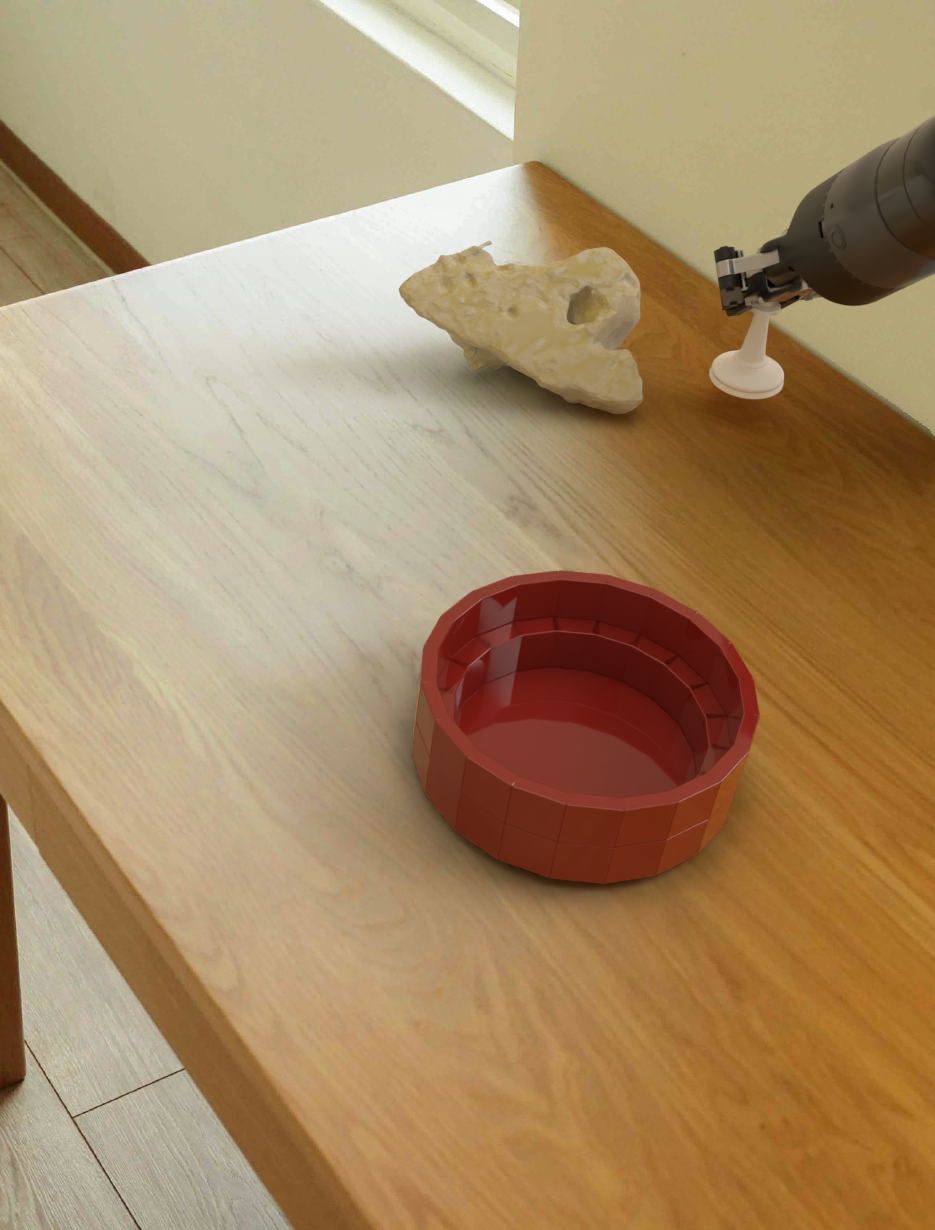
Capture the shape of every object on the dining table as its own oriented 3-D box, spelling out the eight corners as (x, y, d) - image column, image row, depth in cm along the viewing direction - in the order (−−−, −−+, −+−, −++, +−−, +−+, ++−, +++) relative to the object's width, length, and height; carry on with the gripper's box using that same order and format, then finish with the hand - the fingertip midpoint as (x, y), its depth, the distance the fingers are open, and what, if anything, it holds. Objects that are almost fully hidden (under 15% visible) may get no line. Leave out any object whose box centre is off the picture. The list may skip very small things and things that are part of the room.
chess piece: (759, 408, 101) (795, 273, 94) (694, 379, 103) (725, 245, 96) (796, 378, 104) (834, 245, 97) (733, 350, 106) (765, 218, 99)
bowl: (658, 635, 88) (679, 555, 84) (785, 862, 76) (817, 782, 72) (377, 671, 84) (385, 589, 80) (463, 914, 73) (477, 832, 69)
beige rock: (666, 394, 109) (566, 208, 109) (701, 372, 102) (594, 173, 102) (480, 493, 108) (379, 304, 108) (503, 478, 100) (394, 275, 100)
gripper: (991, 143, 86) (834, 234, 103) (763, 162, 83) (641, 252, 100) (1012, 275, 86) (851, 344, 103) (784, 298, 83) (658, 365, 100)
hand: (748, 298), depth 102 cm, fingers closed on chess piece
